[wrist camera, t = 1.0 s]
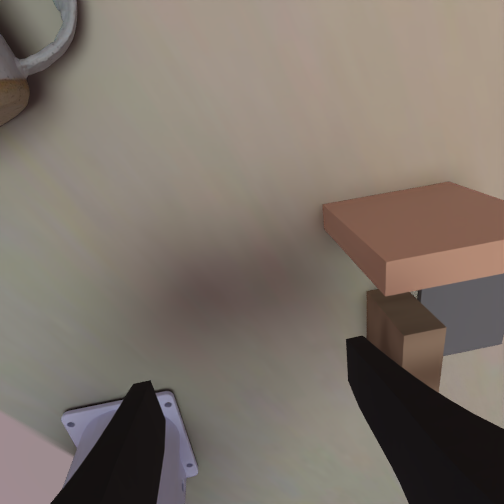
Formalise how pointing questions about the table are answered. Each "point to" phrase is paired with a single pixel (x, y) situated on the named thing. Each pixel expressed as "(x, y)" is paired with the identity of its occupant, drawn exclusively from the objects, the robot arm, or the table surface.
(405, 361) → the bronze rectangular prism
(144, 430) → the robot arm
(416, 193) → the picture frame
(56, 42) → the ceramic mug
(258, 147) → the table surface
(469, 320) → the mat
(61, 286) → the table surface
